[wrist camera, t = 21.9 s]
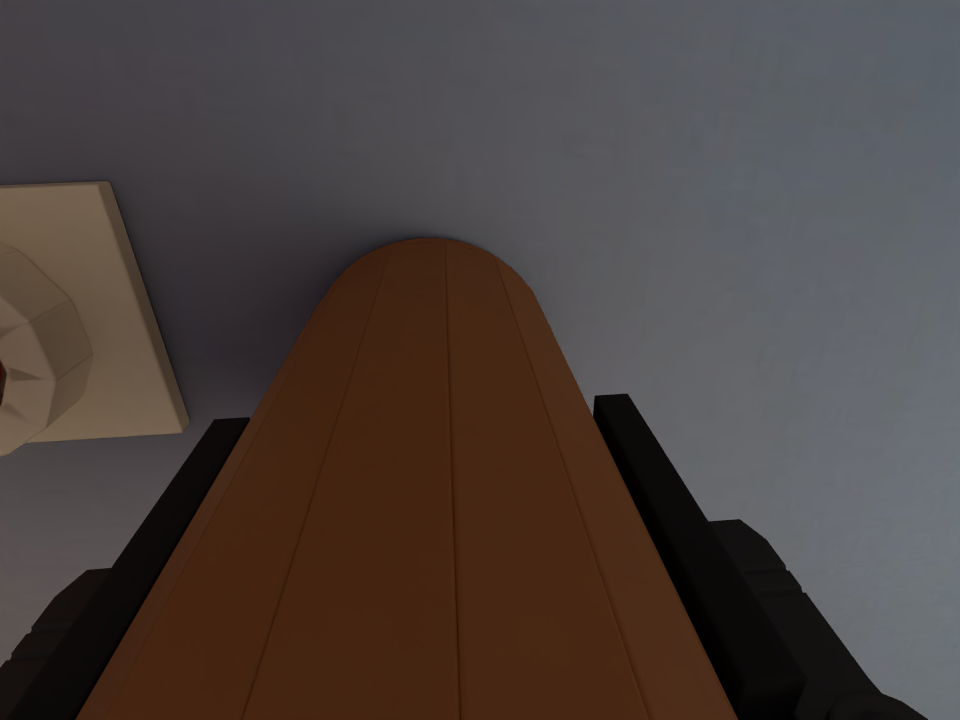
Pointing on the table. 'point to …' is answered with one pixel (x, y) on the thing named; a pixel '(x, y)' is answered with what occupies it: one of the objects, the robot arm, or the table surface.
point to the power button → (0, 372)
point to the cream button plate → (77, 323)
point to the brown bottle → (416, 532)
